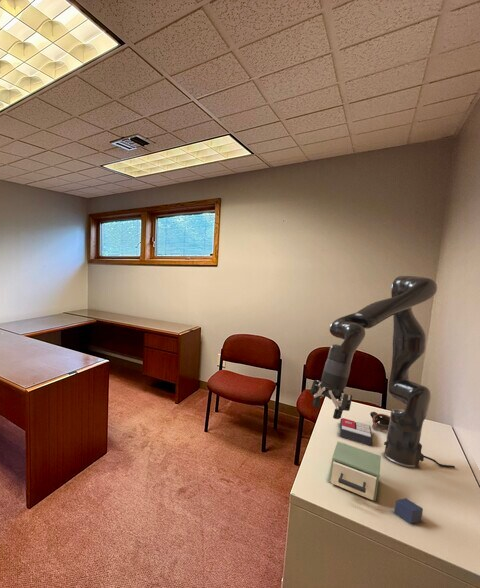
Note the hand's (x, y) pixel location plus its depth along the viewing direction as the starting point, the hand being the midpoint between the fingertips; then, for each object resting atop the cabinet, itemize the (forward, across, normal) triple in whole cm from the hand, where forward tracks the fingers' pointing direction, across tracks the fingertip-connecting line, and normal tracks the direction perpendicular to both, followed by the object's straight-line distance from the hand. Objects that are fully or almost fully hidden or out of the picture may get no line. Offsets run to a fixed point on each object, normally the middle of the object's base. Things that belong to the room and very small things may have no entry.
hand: (325, 412), depth 121 cm
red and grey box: (+17, +17, -40) cm, 47 cm away
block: (+21, -26, -9) cm, 34 cm away
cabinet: (+21, -9, -8) cm, 24 cm away
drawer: (+21, -12, -4) cm, 24 cm away
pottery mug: (+15, +20, -59) cm, 64 cm away
